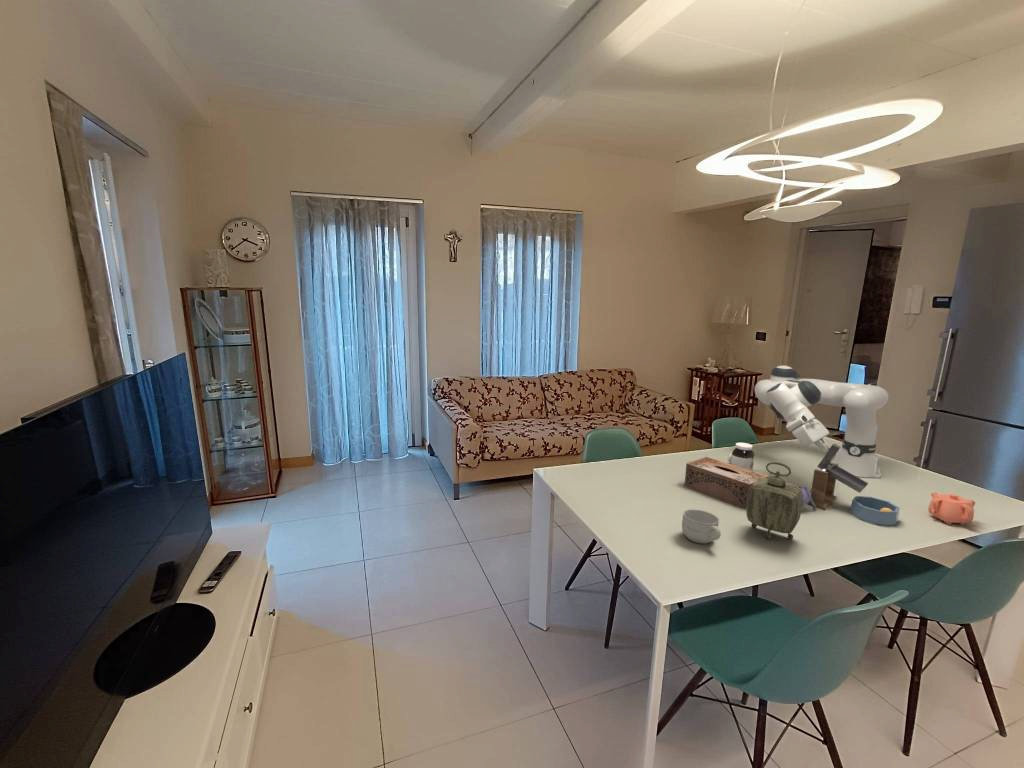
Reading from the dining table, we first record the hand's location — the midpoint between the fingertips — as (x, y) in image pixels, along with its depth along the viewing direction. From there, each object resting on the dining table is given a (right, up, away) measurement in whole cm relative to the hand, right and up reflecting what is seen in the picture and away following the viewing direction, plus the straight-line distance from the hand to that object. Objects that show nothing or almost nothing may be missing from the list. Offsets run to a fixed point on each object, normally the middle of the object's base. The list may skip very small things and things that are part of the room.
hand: (827, 450), depth 172 cm
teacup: (-58, -25, -26) cm, 68 cm away
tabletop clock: (-34, -25, -23) cm, 48 cm away
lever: (+3, -10, -1) cm, 11 cm away
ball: (+13, -20, -11) cm, 27 cm away
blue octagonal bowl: (+11, -22, -8) cm, 26 cm away
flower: (-11, -21, -2) cm, 24 cm away
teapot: (+37, -23, -9) cm, 44 cm away
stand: (0, -20, +4) cm, 20 cm away
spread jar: (-14, -14, +38) cm, 43 cm away
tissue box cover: (-34, -19, +11) cm, 40 cm away
